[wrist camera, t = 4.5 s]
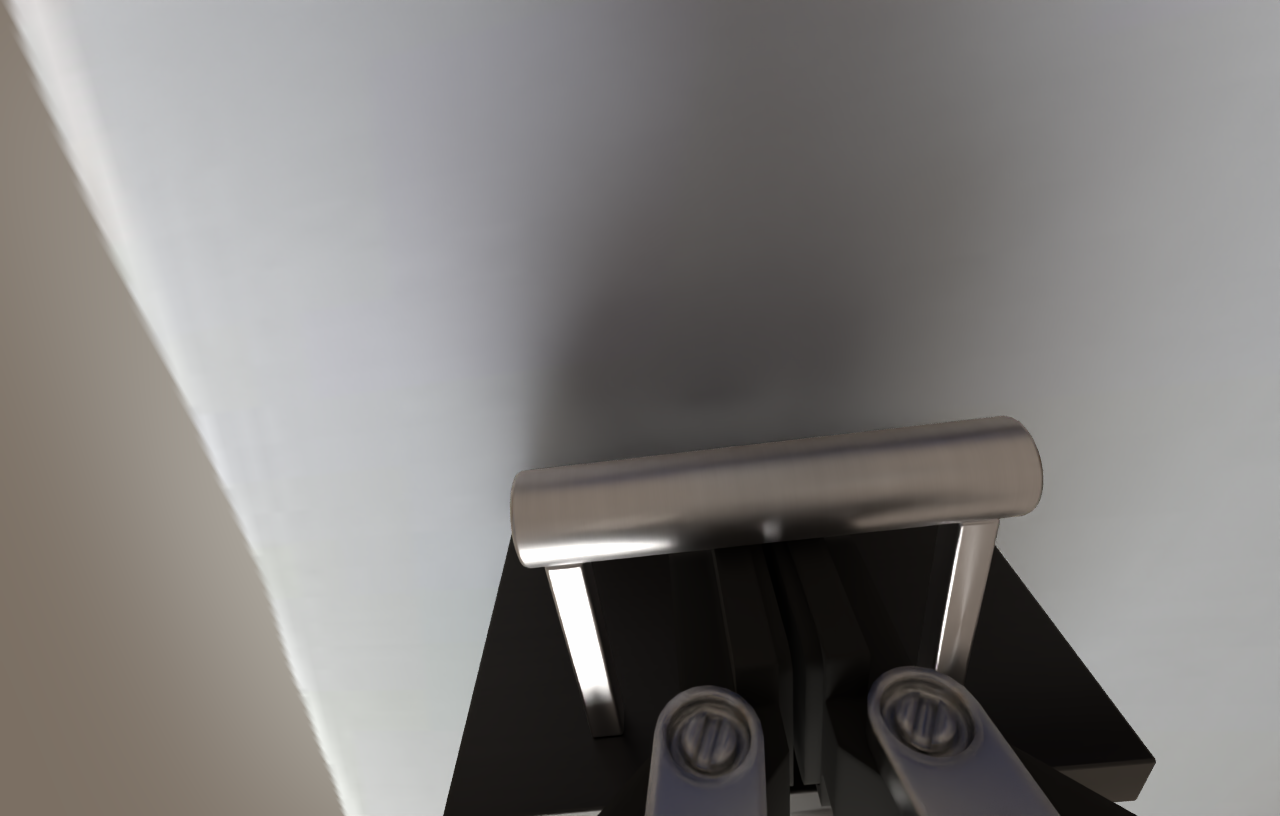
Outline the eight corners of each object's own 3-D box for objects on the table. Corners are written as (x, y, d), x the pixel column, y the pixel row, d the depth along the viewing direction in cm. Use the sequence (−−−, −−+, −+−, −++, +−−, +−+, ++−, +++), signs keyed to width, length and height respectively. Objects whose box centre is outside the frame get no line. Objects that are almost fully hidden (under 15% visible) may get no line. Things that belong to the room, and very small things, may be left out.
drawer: (459, 325, 14) (301, 578, 7) (968, 260, 14) (1312, 469, 7) (595, 782, 24) (581, 1076, 17) (895, 755, 23) (1007, 1048, 16)
